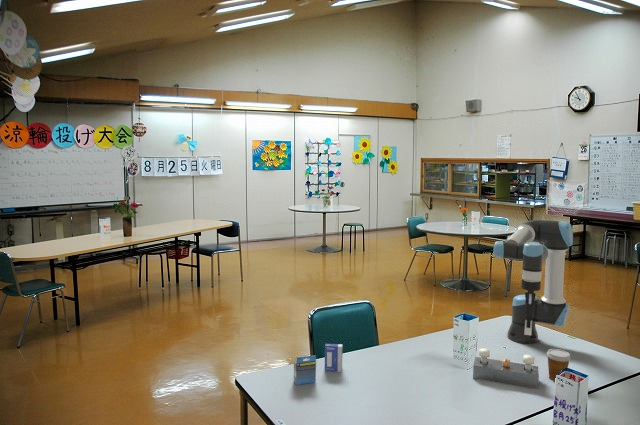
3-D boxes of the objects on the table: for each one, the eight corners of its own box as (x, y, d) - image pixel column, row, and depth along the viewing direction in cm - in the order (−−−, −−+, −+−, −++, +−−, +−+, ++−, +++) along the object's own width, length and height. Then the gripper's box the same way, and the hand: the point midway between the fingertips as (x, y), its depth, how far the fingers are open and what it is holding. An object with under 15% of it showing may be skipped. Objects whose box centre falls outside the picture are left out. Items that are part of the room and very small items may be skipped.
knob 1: (479, 363, 221) (479, 347, 220) (489, 365, 219) (490, 349, 218) (478, 367, 217) (478, 351, 216) (488, 369, 215) (489, 352, 214)
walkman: (324, 370, 222) (324, 345, 220) (325, 368, 224) (325, 342, 223) (342, 371, 221) (342, 346, 220) (342, 369, 224) (342, 343, 222)
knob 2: (522, 370, 214) (523, 354, 213) (533, 372, 212) (534, 355, 212) (522, 375, 210) (523, 357, 209) (533, 376, 208) (534, 359, 208)
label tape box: (313, 378, 214) (313, 351, 213) (316, 382, 210) (316, 355, 209) (293, 381, 211) (293, 354, 210) (296, 385, 207) (296, 357, 206)
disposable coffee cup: (544, 381, 214) (546, 354, 212) (545, 372, 222) (547, 346, 221) (568, 385, 209) (570, 358, 208) (569, 377, 218) (571, 350, 216)
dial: (502, 363, 217) (502, 357, 216) (509, 365, 215) (510, 359, 215) (501, 366, 214) (502, 360, 213) (509, 368, 212) (509, 361, 212)
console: (474, 369, 225) (475, 356, 224) (537, 379, 215) (538, 366, 214) (472, 378, 215) (473, 365, 215) (537, 389, 206) (538, 375, 205)
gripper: (521, 275, 215) (518, 328, 217) (521, 282, 203) (517, 337, 206) (540, 277, 212) (537, 330, 215) (541, 284, 200) (537, 340, 203)
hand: (527, 334), depth 210 cm, fingers closed
